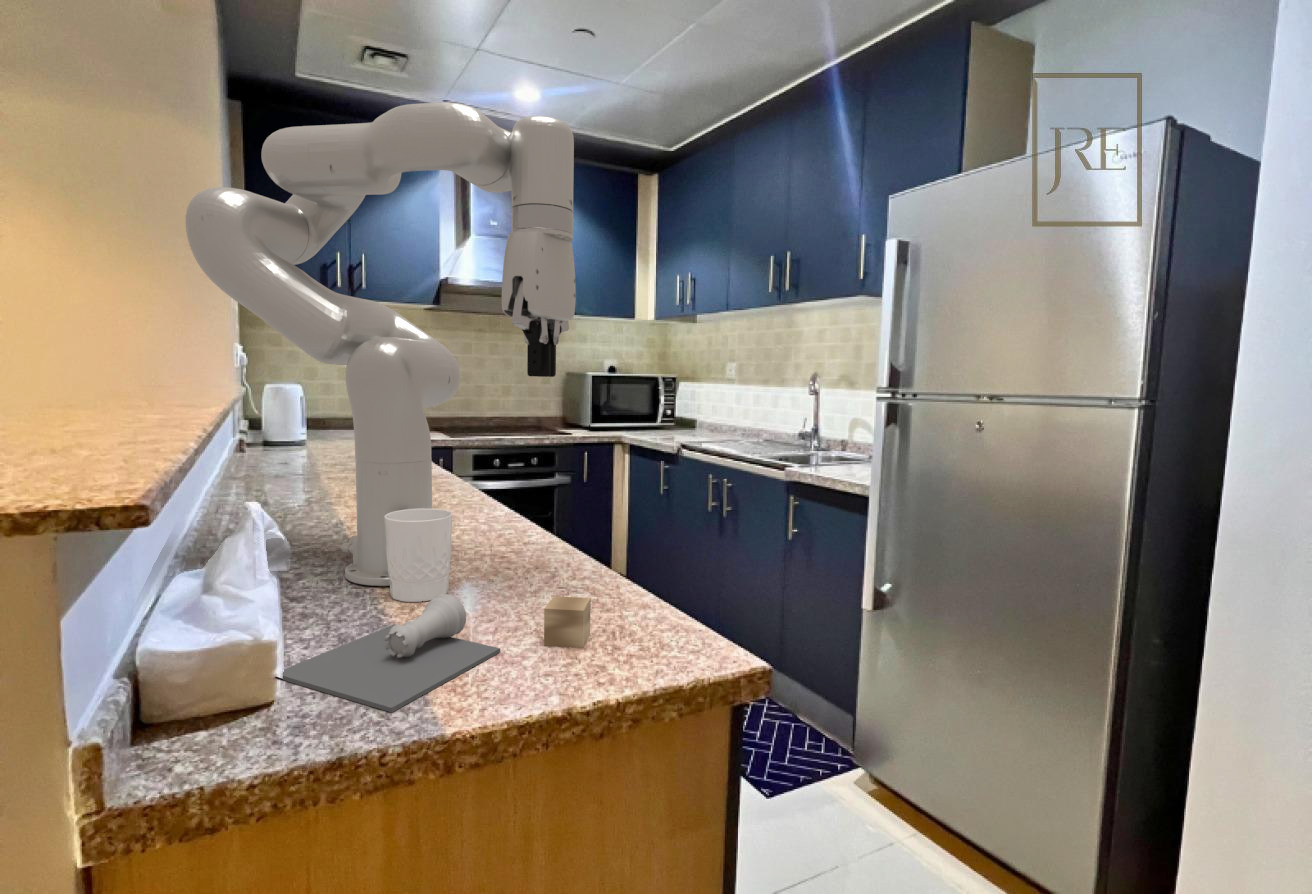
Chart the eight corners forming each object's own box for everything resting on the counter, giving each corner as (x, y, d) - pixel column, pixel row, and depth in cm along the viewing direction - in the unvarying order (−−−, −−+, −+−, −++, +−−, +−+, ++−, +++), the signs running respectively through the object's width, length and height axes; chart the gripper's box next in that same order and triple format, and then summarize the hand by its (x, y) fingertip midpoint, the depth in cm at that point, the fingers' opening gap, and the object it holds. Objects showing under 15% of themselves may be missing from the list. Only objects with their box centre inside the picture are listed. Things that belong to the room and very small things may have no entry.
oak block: (543, 646, 71) (544, 608, 70) (553, 632, 75) (553, 596, 74) (582, 649, 70) (583, 610, 70) (590, 634, 74) (590, 598, 74)
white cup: (425, 608, 81) (424, 523, 80) (371, 599, 84) (369, 517, 83) (465, 589, 89) (465, 511, 88) (415, 581, 91) (414, 506, 90)
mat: (274, 677, 62) (274, 673, 62) (394, 627, 75) (394, 624, 75) (391, 712, 56) (391, 707, 56) (500, 652, 69) (500, 648, 69)
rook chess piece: (472, 633, 71) (417, 669, 64) (438, 632, 73) (381, 667, 66) (464, 591, 71) (408, 622, 64) (430, 592, 73) (372, 622, 66)
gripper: (550, 240, 94) (549, 376, 96) (478, 216, 81) (478, 375, 83) (599, 236, 91) (597, 377, 93) (532, 211, 78) (531, 376, 80)
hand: (541, 376), depth 88 cm, fingers closed
